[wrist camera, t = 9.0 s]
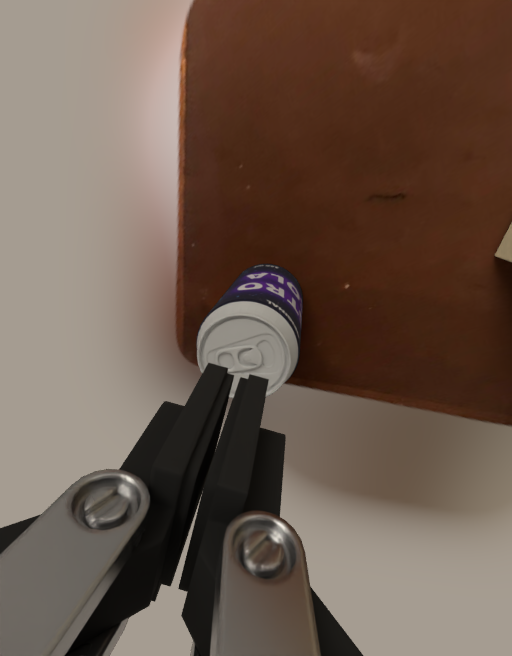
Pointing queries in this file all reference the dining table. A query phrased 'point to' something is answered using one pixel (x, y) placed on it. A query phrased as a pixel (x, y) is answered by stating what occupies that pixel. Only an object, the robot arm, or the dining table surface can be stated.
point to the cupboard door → (506, 246)
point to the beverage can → (255, 327)
